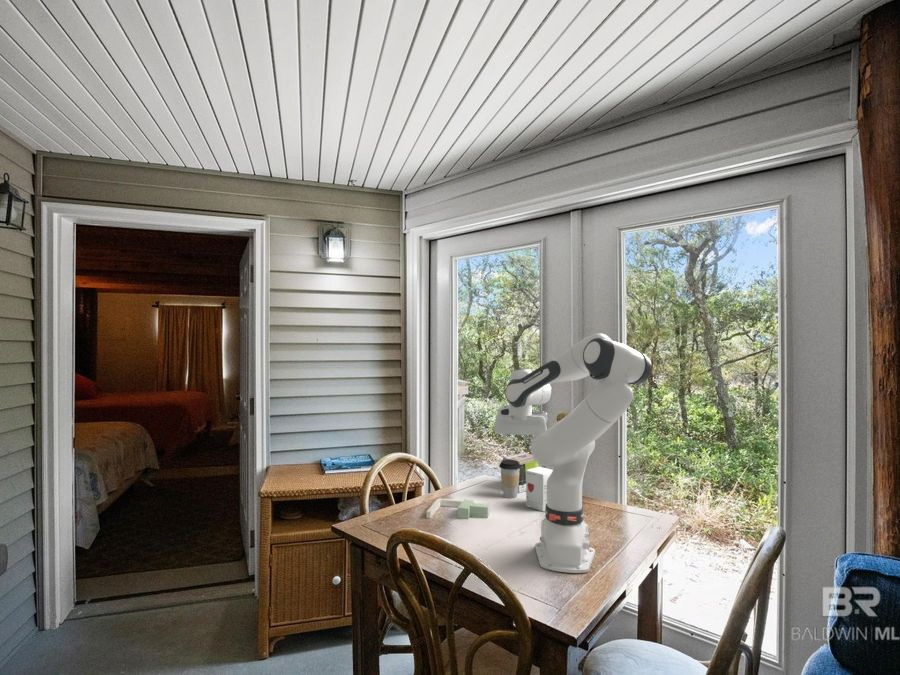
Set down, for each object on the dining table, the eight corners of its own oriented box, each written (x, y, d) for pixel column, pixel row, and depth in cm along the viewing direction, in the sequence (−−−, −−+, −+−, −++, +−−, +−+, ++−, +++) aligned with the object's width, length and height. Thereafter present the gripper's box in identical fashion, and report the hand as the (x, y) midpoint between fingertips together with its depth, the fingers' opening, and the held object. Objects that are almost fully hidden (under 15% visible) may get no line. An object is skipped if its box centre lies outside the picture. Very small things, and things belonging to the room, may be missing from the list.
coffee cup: (518, 500, 198) (518, 465, 199) (497, 498, 201) (496, 463, 202) (522, 494, 207) (522, 460, 207) (501, 492, 210) (501, 458, 210)
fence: (455, 520, 175) (455, 514, 176) (426, 518, 178) (426, 511, 178) (464, 506, 191) (464, 500, 191) (438, 504, 194) (438, 498, 194)
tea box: (524, 482, 225) (523, 451, 225) (540, 487, 217) (540, 455, 218) (502, 488, 215) (502, 456, 216) (519, 493, 208) (518, 460, 208)
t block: (486, 520, 175) (486, 510, 176) (458, 518, 178) (458, 507, 178) (490, 511, 185) (490, 501, 185) (463, 509, 188) (463, 499, 188)
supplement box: (525, 506, 191) (525, 469, 192) (538, 501, 197) (538, 466, 198) (543, 512, 185) (543, 474, 185) (556, 506, 191) (556, 470, 191)
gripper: (547, 409, 181) (546, 445, 181) (494, 408, 184) (494, 442, 184) (548, 412, 175) (547, 449, 175) (494, 410, 178) (493, 446, 178)
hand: (520, 445), depth 180 cm, fingers open, 8 cm apart
